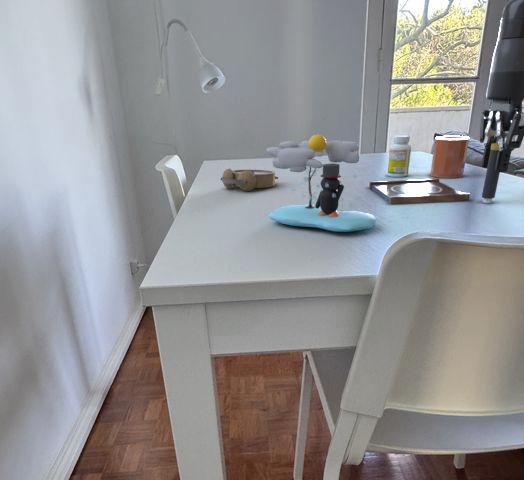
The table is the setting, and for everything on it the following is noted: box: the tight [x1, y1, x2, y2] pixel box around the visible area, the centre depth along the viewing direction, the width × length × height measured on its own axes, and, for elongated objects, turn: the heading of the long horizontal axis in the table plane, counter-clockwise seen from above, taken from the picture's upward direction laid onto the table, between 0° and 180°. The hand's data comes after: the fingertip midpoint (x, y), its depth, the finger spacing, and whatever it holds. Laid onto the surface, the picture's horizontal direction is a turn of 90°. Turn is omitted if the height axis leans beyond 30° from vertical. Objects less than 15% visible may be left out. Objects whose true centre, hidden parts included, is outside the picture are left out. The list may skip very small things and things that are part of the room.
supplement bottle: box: [387, 134, 412, 178], centre depth 123 cm, size 5×5×10 cm
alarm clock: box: [220, 168, 279, 192], centre depth 117 cm, size 11×5×15 cm
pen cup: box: [430, 135, 470, 179], centre depth 120 cm, size 8×8×9 cm
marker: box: [481, 142, 501, 204], centre depth 93 cm, size 2×2×11 cm
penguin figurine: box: [266, 133, 377, 233], centre depth 81 cm, size 20×11×15 cm, turn 51°
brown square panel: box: [368, 178, 471, 205], centre depth 105 cm, size 17×17×1 cm
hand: (493, 169), depth 93 cm, fingers open, 5 cm apart
